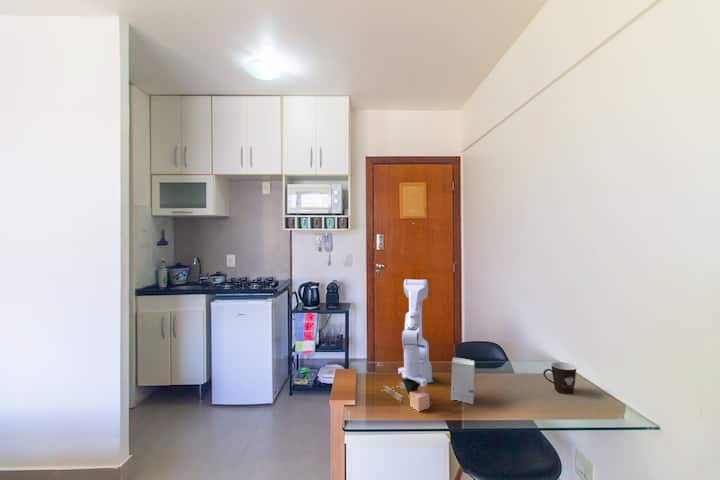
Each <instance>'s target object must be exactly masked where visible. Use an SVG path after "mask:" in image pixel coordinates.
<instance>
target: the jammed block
mask: <svg viewBox="0 0 720 480" xmlns="http://www.w3.org/2000/svg"><path fill="white" fill-rule="evenodd" d="M409 393H410V406H411V407H413V408H414V409H416V410H417V411H416V410H415V411H416V412H418V413H420V412H419V411H421V412H423V411H422V410H424V409H426V408H429V407H430V406H431V405H430V404H429V403H430V394H429V393H428V392H426V391H424V390H423V389H420V388H418V390H416V391H412V392H409ZM424 411H425V410H424Z"/></svg>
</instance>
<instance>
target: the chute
mask: <svg viewBox="0 0 720 480" xmlns="http://www.w3.org/2000/svg"><path fill="white" fill-rule="evenodd" d="M397 382H398V383H397V387H398V386H399V387H400V388H402V389H403V390H404V391H406V392H407V389H406V386H405V384H404V382H403V381H401V380H398V381H397ZM382 385H383V386H382V391H383V390H384V391H386V392H387V393H389V394H390V395H392V396H393V397H394V398H396V399H397V400H399V401H400V402H401V403H403V396H402V395H400V394H398V393H397V392H395V391H394V390H392V389H391V388H392V387H389V386H387V385H386V384H382Z"/></svg>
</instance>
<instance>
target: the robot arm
mask: <svg viewBox="0 0 720 480" xmlns="http://www.w3.org/2000/svg"><path fill="white" fill-rule="evenodd" d="M428 284H429V283H428V280H427V279H408V278H405V279H404V281H403V293H404V295H405V296H406V298H407V299H408V312H406V313H405V318H404V329H403V330H402V333H401V341H402V342H401V343H402V349H403V366H402V367H398V368H397V371H398V373H397V374H399V375H400V374H401V378H402V382H403V383H404V384H405V386H406V389H407V393H408V397H409V399H410V393H409V392H412V391H416V390H419V388H420V387H426V386H428V383H432V382H434V380H433V376H432V375H433V373H432V370H433V368H432V367H433V366H432V362H431V361H430V360H429V359H430V358H429V357H430V347H429V342H428V340H426V339H425V338H424V337H423V301H424V300H426V299H427V298H428V294H429V293H428V292H429V291H428V290H429V285H428Z"/></svg>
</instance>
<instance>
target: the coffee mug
mask: <svg viewBox="0 0 720 480" xmlns="http://www.w3.org/2000/svg"><path fill="white" fill-rule="evenodd" d="M550 365H551V369H550V368H546V369H544V371H543V377H544V378H545V379H546V380H547V381H549V382H550V383H552V384H553V385H554V386H553V387H554V391H555V390H556V391H555V392H557V393H559V394H562V395H567V394H571V395H574V392H575V384H576V376H577V375H576V374H577V367H576V365H574V364H572V363H568V362H563V361H554V362H551V364H550ZM547 371H550V372H551V374H552V379H553V381H552V380H551V379H549V378H548V377H547V376H546V373H547Z"/></svg>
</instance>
